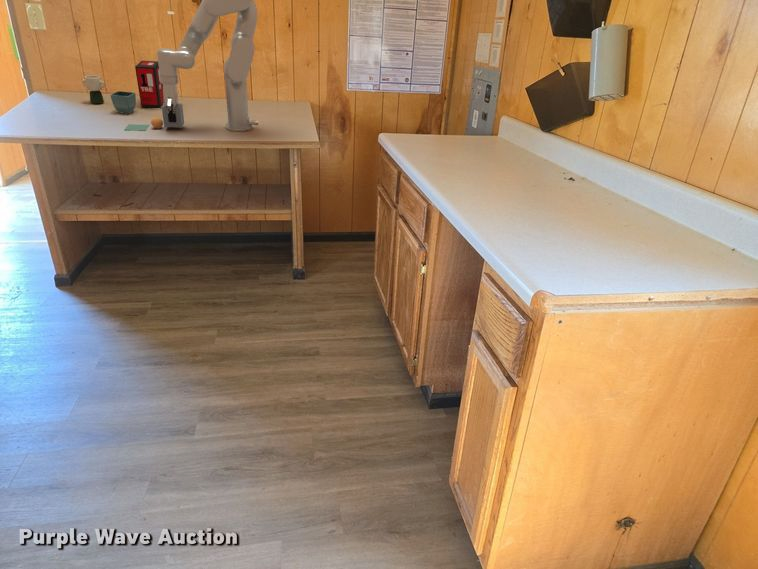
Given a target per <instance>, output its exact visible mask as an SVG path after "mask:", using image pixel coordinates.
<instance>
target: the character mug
mask: <svg viewBox="0 0 758 569" xmlns="http://www.w3.org/2000/svg"><path fill="white" fill-rule="evenodd" d="M82 85H83V87H86V89H87V90H88V91H89V100H90V103H91V104H102V103H104V102H105V100H104V96H103V93H102V92H101V91H102V89H105V88H106V84H105V81H104V80H101V76H99V75H96V74H88V75H85V76H84V78H83V79H82Z"/></svg>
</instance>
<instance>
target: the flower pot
mask: <svg viewBox="0 0 758 569" xmlns="http://www.w3.org/2000/svg"><path fill="white" fill-rule="evenodd" d="M136 96H137V95H136V92H133V91H125V90H124V91H123V90H121V91H120V90H117V91H115V92H114V93H111V94H110V99H111V102H112V105H113V107H114V108H115V110H116V111H117V112H118V113H120V114H128V115H129V114H131V113H133V112H134V110H135V108H136V104H137V102H136V100H137V99H136V98H137V97H136Z"/></svg>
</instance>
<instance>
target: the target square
mask: <svg viewBox="0 0 758 569" xmlns="http://www.w3.org/2000/svg"><path fill="white" fill-rule="evenodd" d="M149 127H150V124H133V123H132V124H129V123H128V124H127V125H126V126H125V128H124V129H123V130H124V131H130V130H142V131H141V132H144V131H145V132H146V130H148V128H149Z"/></svg>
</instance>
